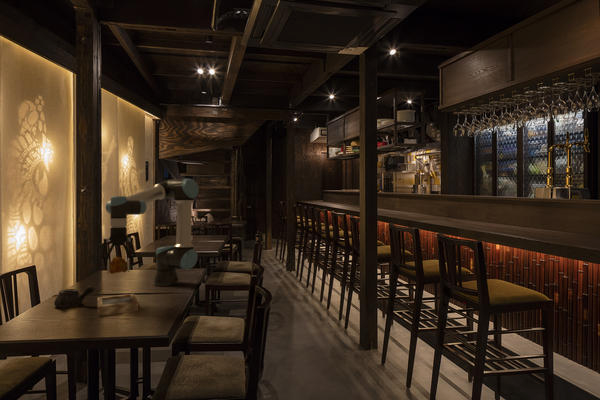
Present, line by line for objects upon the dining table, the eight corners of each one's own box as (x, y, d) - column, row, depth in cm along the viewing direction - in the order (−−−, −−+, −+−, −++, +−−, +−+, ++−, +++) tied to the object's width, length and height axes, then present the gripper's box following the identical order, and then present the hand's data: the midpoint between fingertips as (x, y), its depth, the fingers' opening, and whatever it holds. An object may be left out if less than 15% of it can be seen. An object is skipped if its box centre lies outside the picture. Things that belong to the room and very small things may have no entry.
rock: (107, 281, 205) (112, 264, 212) (125, 282, 208) (129, 266, 215) (107, 268, 198) (112, 251, 205) (126, 270, 200) (130, 253, 207)
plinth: (134, 301, 211) (134, 293, 211) (138, 310, 194) (137, 302, 194) (97, 306, 204) (97, 297, 204) (98, 315, 187) (97, 306, 187)
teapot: (47, 311, 195) (46, 290, 195) (60, 303, 210) (60, 283, 210) (89, 309, 198) (89, 288, 198) (99, 301, 213) (99, 282, 213)
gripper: (140, 226, 214) (140, 269, 213) (95, 227, 204) (94, 272, 204) (141, 226, 207) (141, 271, 207) (94, 227, 198) (94, 274, 197)
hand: (118, 272), depth 205 cm, fingers closed on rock, 8 cm apart
